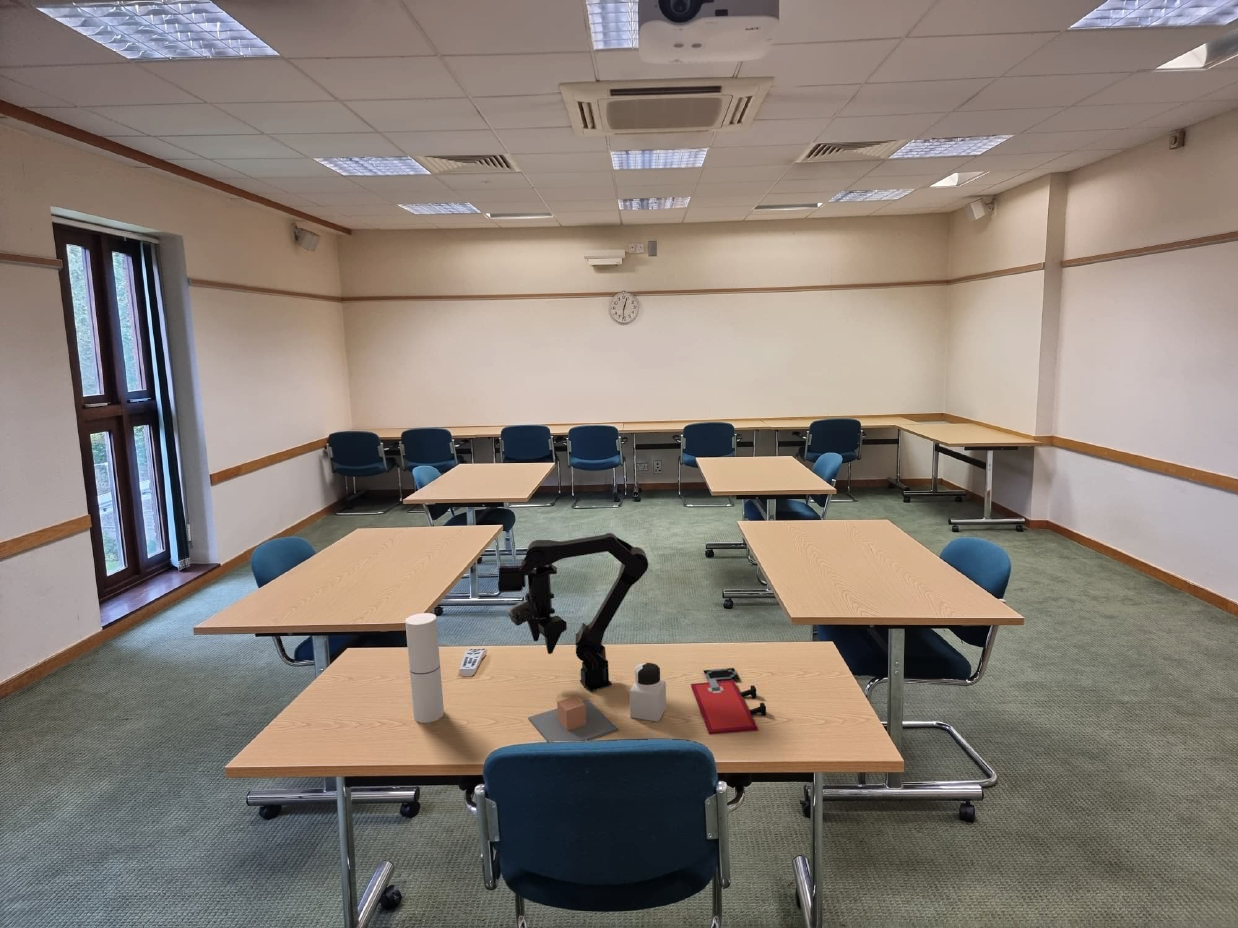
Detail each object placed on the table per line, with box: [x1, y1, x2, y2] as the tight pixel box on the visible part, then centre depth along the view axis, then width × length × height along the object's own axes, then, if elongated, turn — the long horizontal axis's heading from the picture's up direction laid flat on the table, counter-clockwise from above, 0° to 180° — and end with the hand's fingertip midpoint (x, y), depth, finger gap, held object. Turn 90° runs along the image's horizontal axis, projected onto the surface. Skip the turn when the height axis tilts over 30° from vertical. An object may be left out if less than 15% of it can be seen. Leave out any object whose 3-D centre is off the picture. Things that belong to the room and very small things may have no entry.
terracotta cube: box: [556, 695, 586, 731], centre depth 165 cm, size 5×5×5 cm
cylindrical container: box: [404, 612, 445, 724], centre depth 170 cm, size 7×7×25 cm
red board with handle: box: [690, 667, 767, 735], centre depth 175 cm, size 30×3×15 cm
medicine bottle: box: [629, 662, 667, 723], centre depth 169 cm, size 7×7×12 cm
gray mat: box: [527, 699, 620, 743], centre depth 166 cm, size 16×16×1 cm
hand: (542, 647), depth 183 cm, fingers open, 9 cm apart
